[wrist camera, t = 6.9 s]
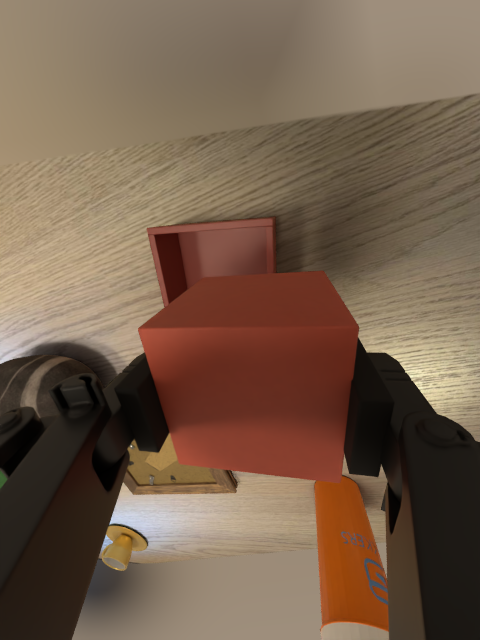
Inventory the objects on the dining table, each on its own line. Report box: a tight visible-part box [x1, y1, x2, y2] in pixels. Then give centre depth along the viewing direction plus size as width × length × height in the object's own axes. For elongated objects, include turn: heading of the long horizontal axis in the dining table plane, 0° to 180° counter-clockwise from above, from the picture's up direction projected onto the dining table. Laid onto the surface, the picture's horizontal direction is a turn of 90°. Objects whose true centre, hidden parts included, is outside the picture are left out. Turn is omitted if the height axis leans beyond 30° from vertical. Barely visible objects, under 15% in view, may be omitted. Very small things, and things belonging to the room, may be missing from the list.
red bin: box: [147, 216, 277, 307], centre depth 24 cm, size 11×11×6 cm
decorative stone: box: [0, 355, 104, 418], centre depth 35 cm, size 19×14×10 cm
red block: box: [138, 271, 359, 483], centre depth 10 cm, size 6×6×6 cm
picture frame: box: [123, 433, 237, 495], centre depth 43 cm, size 19×2×24 cm
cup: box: [102, 526, 147, 570], centre depth 60 cm, size 12×12×5 cm
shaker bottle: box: [314, 476, 389, 640], centre depth 30 cm, size 9×9×20 cm
